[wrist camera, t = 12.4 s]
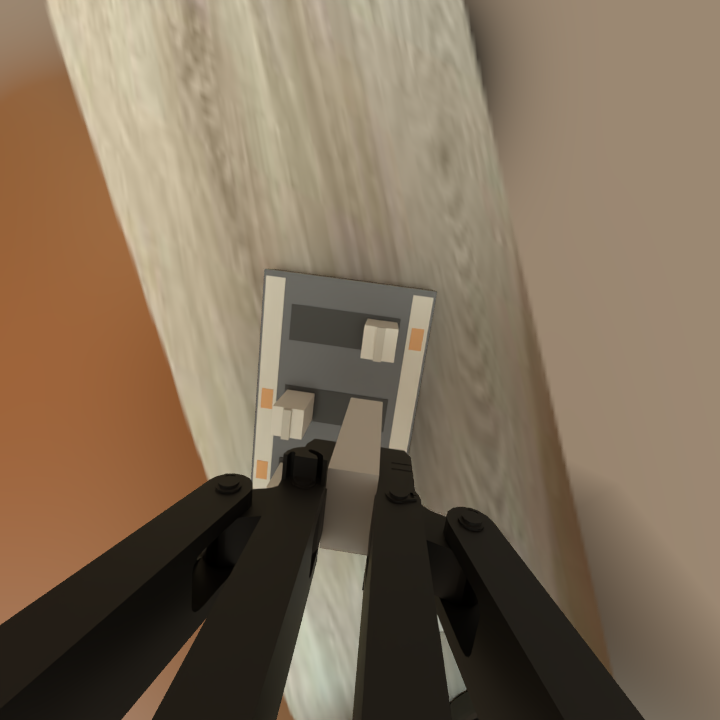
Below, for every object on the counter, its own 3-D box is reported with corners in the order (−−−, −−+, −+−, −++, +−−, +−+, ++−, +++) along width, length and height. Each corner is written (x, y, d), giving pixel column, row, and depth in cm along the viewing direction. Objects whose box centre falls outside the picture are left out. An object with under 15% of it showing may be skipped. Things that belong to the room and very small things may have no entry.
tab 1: (304, 489, 33) (291, 521, 29) (278, 485, 33) (262, 516, 29) (306, 466, 32) (294, 495, 28) (280, 462, 33) (264, 490, 28)
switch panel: (394, 508, 37) (395, 530, 33) (260, 486, 37) (248, 505, 34) (432, 290, 31) (437, 291, 28) (275, 269, 32) (263, 268, 29)
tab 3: (392, 351, 29) (393, 364, 25) (364, 347, 30) (359, 359, 25) (397, 322, 29) (398, 330, 25) (367, 318, 29) (364, 325, 25)
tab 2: (312, 419, 31) (300, 441, 27) (285, 415, 31) (268, 437, 27) (314, 393, 31) (302, 412, 27) (287, 389, 31) (271, 407, 27)
